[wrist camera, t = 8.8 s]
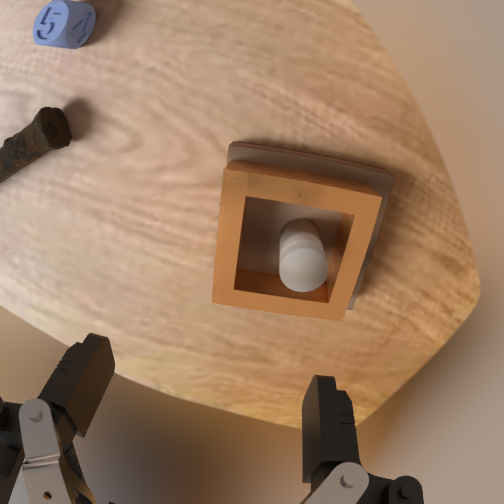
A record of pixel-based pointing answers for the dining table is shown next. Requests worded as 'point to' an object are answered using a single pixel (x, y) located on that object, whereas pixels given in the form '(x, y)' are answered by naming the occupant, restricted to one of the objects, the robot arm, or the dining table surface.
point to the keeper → (301, 220)
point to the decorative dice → (64, 24)
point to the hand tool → (34, 141)
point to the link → (303, 193)
